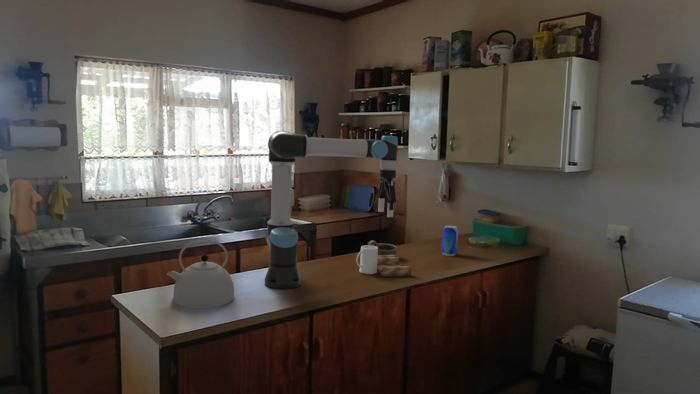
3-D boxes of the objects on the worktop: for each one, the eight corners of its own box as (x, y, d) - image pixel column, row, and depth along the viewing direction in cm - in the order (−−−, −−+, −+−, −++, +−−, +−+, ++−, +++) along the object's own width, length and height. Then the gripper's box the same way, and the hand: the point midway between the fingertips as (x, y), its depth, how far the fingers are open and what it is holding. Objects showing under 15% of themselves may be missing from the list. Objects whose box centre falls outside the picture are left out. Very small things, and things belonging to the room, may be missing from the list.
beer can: (458, 254, 285) (460, 226, 283) (453, 257, 278) (455, 228, 276) (444, 251, 289) (446, 224, 287) (438, 254, 282) (440, 226, 280)
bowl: (402, 259, 268) (403, 241, 267) (374, 262, 259) (375, 243, 258) (387, 253, 280) (388, 235, 278) (360, 256, 271) (361, 237, 269)
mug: (360, 275, 235) (361, 250, 233) (350, 271, 242) (351, 246, 240) (380, 273, 241) (382, 248, 239) (370, 268, 248) (371, 244, 246)
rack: (382, 276, 235) (383, 267, 235) (369, 263, 256) (369, 255, 256) (410, 275, 239) (411, 267, 238) (395, 263, 260) (395, 255, 259)
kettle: (168, 311, 181) (168, 249, 177) (164, 291, 201) (164, 235, 198) (239, 304, 191) (240, 246, 187) (228, 286, 211) (229, 233, 208)
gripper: (405, 172, 225) (402, 219, 228) (387, 167, 249) (384, 209, 252) (388, 171, 223) (386, 219, 226) (372, 166, 247) (370, 209, 250)
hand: (385, 214), depth 239 cm, fingers open, 13 cm apart
